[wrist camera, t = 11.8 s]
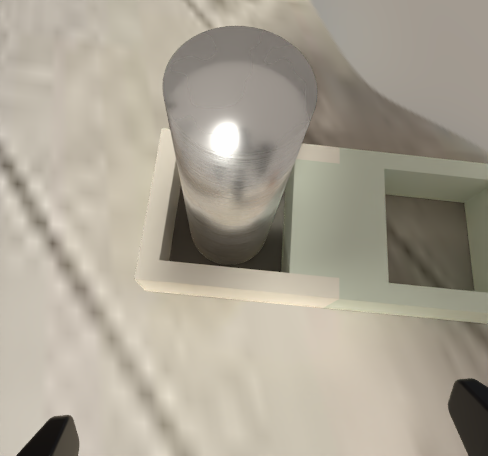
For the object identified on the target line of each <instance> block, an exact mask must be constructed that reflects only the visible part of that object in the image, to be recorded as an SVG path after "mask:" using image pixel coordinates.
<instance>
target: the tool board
mask: <svg viewBox="0 0 488 456" xmlns="http://www.w3.org/2000/svg"><path fill="white" fill-rule="evenodd" d="M180 188H181V181H180V176H179V171H178V166H177V161H176V156H175V151H174V146H173V141H172V136H171V131H170V129H167V128H162V130H161V136H160V141H159V147H158V152H157V157H156V163H155V168H154V174H153V179H152V185H151V190H150V195H149V201H148V206H147V212H146V217H145V222H144V228H143V233H142V239H141V244H140V250H139V255H138V260H137V266H136V271H135V277H134V279H135V280H136V281H137V282H138V284H139V285H140V286H141V287H142V288H143V289H144V290H145V291H152V292H163V293H173V294H183V295H194V296H204V297H214V298H225V299H235V300H246V301H256V302H266V303H277V304H287V305H297V306H308V307H318V308H328V309H339V310H349V311H359V312H370V313H380V314H391V315H401V316H411V317H422V318H432V319H442V320H453V321H463V322H473V323H484V324H488V164H487V163H478V162H468V161H459V160H450V159H441V158H432V157H423V156H414V155H404V154H395V153H386V152H377V151H368V150H359V149H350V148H340V147H331V146H322V145H313V144H304V143H302V145H301V147H300V150H299V153H298V155H297V158H296V160H295V163H294V166H293V168H292V171H291V174H290V176H289V179H288V182H287V184H286V187H285V206H284V224H283V242H282V261H281V272H274V271H264V270H254V269H244V268H234V267H224V266H214V265H203V264H193V263H183V262H173V261H169V258H170V252H171V245H172V239H173V233H174V226H175V220H176V213H177V207H178V201H179V194H180ZM385 194H386V195H395V196H405V197H414V198H424V199H433V200H443V201H452V202H461V203H464V205H465V214H466V222H467V231H468V240H469V248H470V257H471V266H472V274H473V283H474V291H466V290H456V289H446V288H436V287H426V286H415V285H405V284H395V283H389V277H388V253H387V229H386V204H385Z"/></svg>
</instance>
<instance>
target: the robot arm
mask: <svg viewBox="0 0 488 456" xmlns="http://www.w3.org/2000/svg"><path fill="white" fill-rule="evenodd" d="M448 409H449V413H450V415H451V418H452V420H453V422H454V424H455V426H456V429H457V431H458V433H459V435H460V438H461V440H462V442H463V444H464V447H465V449H466V451H467V453H468V456H488V387H486V386H485V385H483V384H482V383H480V382H479V381H477V380H475V379H459V380H457V381H455V383H454V385H453V389H452V392H451V395H450V399H449V402H448ZM78 452H79V438H78V434H77V431H76V427H75V424H74V420H73V418H72V417H71V416H70V415H64V416H54V417H52V418H50V419H49V420H48V421H47V422H46V423H45V424H44V426H43V427H42V428H41V429H40V430H39V431H38V432H37V433H36V434H35V436H34V437H33V438H32V439H31V440H30V441H29V442H28V443H27V444H26V445H25V447H24V448H23V449H22V450H21V451H20V452H19V453H18V454H17V455H16V456H78Z"/></svg>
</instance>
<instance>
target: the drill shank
mask: <svg viewBox="0 0 488 456" xmlns="http://www.w3.org/2000/svg"><path fill="white" fill-rule="evenodd" d="M163 96H164V101H165V106H166V111H167V116H168V121H169V126H170V131H171V136H172V141H173V146H174V151H175V156H176V161H177V166H178V171H179V176H180V181H181V186H182V191H183V196H184V201H185V206H186V211H187V216H188V222H189V227H190V232H191V236H192V240H193V242H194V244H195V246H196V248H197V249H198V250H199V252H200V253H201V254H202V255H203V256H205V257H206V258H207V259H209V260H211V261H213V262H216V263H219V264H224V265H235V264H240V263H243V262H246V261H248V260H249V259H251V258H253V257H254V256H255V255H256V254H257V253H258V252H259V251H260V250H261V248H262V247H263V245H264V243H265V240H266V238H267V235H268V232H269V230H270V227H271V224H272V222H273V219H274V216H275V214H276V211H277V208H278V206H279V203H280V200H281V198H282V195H283V192H284V190H285V187H286V184H287V182H288V179H289V176H290V174H291V171H292V168H293V166H294V163H295V160H296V158H297V155H298V153H299V150H300V147H301V145H302V142H303V139H304V137H305V134H306V131H307V129H308V126H309V123H310V121H311V118H312V115H313V113H314V110H315V107H316V102H317V83H316V79H315V75H314V73H313V70H312V68H311V66H310V65H309V63H308V61H307V60H306V58H305V57H304V56H303V55H302V53H301V52H300V51H299V50H298V49H297V48H296V47H294V46H293V45H292V44H290V43H289V42H288V41H286V40H285V39H283V38H281V37H279V36H277V35H275V34H273V33H271V32H268V31H265V30H262V29H258V28H253V27H246V26H226V27H220V28H215V29H211V30H208V31H205V32H203V33H200V34H198V35H196V36H194V37H193V38H191V39H189V40H188V41H187V42H185V43H184V44H183V45H182V46H181V47H180V48H179V49H178V50H177V51H176V52H175V53H174V55H173V56H172V57H171V59H170V61H169V62H168V65H167V67H166V70H165V73H164V77H163Z"/></svg>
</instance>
